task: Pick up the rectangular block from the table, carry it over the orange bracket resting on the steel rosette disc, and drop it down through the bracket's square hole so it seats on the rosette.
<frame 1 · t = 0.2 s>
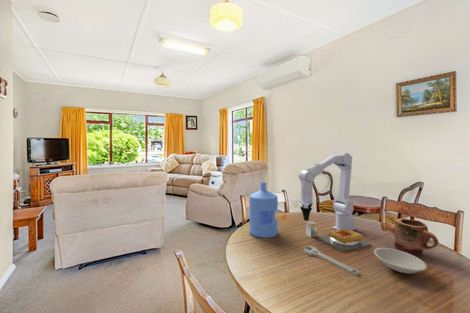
hand: (306, 218, 121), 10 cm above the table, tool pointing down, fingers open, 7 cm apart
rectangular block: (311, 235, 122), on the table
bracket rosette: (343, 242, 113), on the table
decorative planter: (412, 253, 101), on the table
water jug: (263, 233, 126), on the table
dish: (398, 270, 87), on the table
adjustable wrench: (327, 262, 95), on the table
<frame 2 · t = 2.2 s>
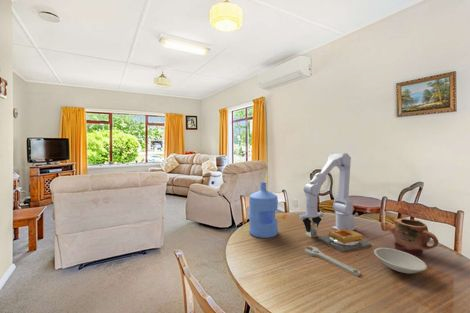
hand: (311, 231, 121), 2 cm above the table, tool pointing down, fingers closed on rectangular block, 4 cm apart
rectangular block: (311, 235, 122), on the table, touching gripper
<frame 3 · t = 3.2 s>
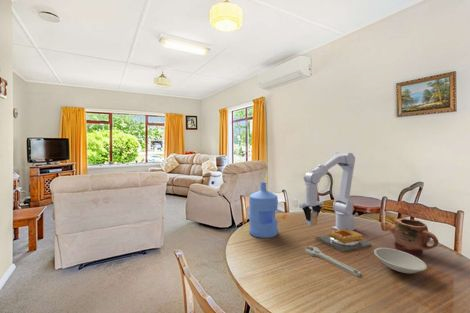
hand: (311, 219, 121), 9 cm above the table, tool pointing down, fingers closed on rectangular block, 4 cm apart
rectangular block: (311, 224, 121), point 6 cm above the table, touching gripper
everything else where it was.
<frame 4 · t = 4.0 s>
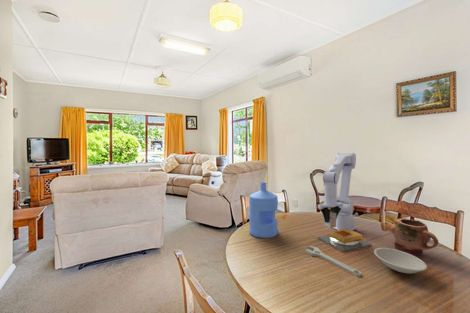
hand: (330, 221, 116), 9 cm above the table, tool pointing down, fingers closed on rectangular block, 4 cm apart
rectangular block: (330, 226, 116), point 7 cm above the table, touching gripper
everything else where it was.
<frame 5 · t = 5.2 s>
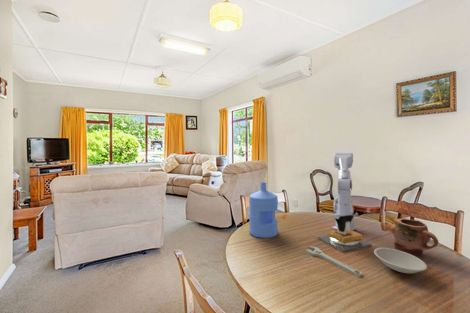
hand: (343, 230, 112), 6 cm above the table, tool pointing down, fingers closed on rectangular block, 4 cm apart
rectangular block: (343, 235, 113), point 4 cm above the table, touching gripper
when the fingers open (6 cm above the table, at t = 6.1 s): rectangular block drops 1 cm, resting on bracket rosette.
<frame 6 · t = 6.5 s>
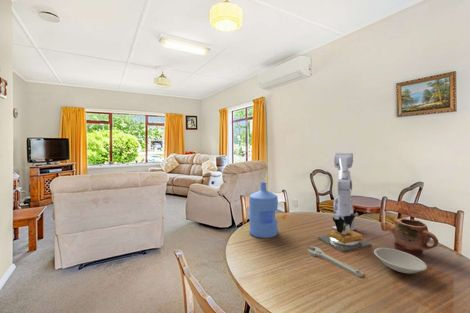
hand: (343, 230, 112), 6 cm above the table, tool pointing down, fingers open, 7 cm apart
rectangular block: (343, 238, 113), point 2 cm above the table, touching bracket rosette
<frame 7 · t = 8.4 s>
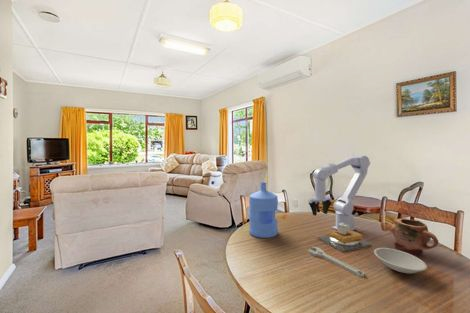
hand: (319, 214, 128), 9 cm above the table, tool pointing down, fingers open, 7 cm apart
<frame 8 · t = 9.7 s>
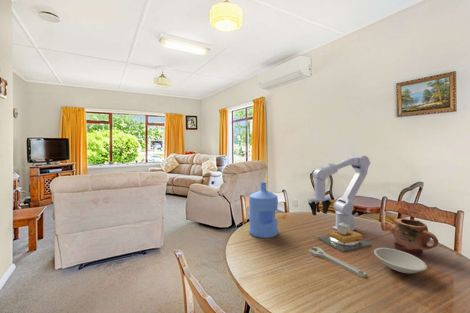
hand: (319, 214, 128), 9 cm above the table, tool pointing down, fingers open, 7 cm apart
at the end: rectangular block 0.1 cm off-centre on the bracket rosette, point 2.0 cm above the bracket rosette's base; rectangular block tilted 0°; the gripper is holding nothing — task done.
